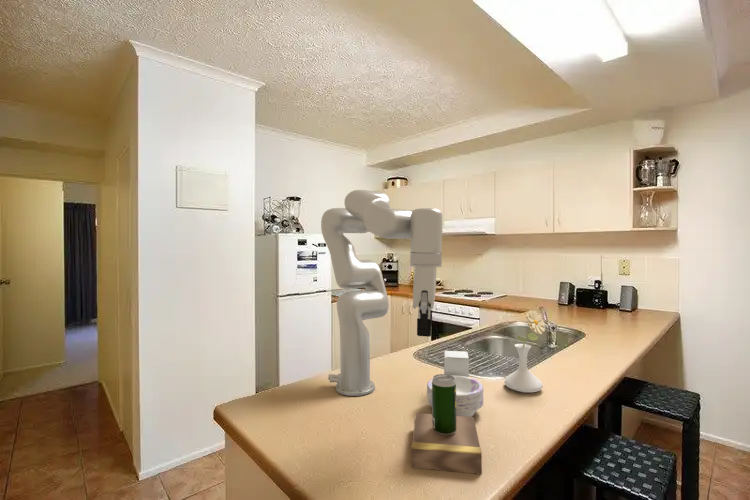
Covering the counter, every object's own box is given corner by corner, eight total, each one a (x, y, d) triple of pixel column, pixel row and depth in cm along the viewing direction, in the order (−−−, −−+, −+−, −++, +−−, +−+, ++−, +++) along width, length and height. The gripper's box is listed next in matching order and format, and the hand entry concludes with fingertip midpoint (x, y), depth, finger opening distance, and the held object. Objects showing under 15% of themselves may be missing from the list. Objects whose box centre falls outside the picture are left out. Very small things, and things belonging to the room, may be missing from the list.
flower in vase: (517, 397, 108) (517, 314, 108) (497, 383, 119) (496, 308, 119) (555, 393, 111) (555, 312, 111) (532, 380, 122) (531, 306, 122)
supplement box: (469, 400, 107) (469, 358, 106) (444, 398, 108) (443, 356, 108) (468, 390, 114) (467, 351, 114) (444, 389, 115) (444, 350, 115)
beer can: (437, 438, 78) (437, 383, 78) (428, 426, 83) (428, 374, 83) (460, 435, 79) (460, 381, 79) (450, 423, 85) (449, 372, 84)
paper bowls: (424, 400, 107) (424, 373, 107) (475, 400, 107) (475, 373, 107) (430, 425, 92) (430, 394, 92) (490, 426, 91) (490, 394, 91)
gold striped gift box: (411, 467, 74) (411, 446, 74) (416, 429, 90) (416, 412, 90) (481, 474, 72) (481, 452, 72) (473, 433, 88) (473, 415, 88)
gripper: (412, 257, 96) (411, 321, 96) (407, 262, 79) (406, 339, 79) (441, 258, 94) (440, 323, 95) (441, 263, 77) (440, 341, 78)
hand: (424, 330), depth 87 cm, fingers open, 9 cm apart
